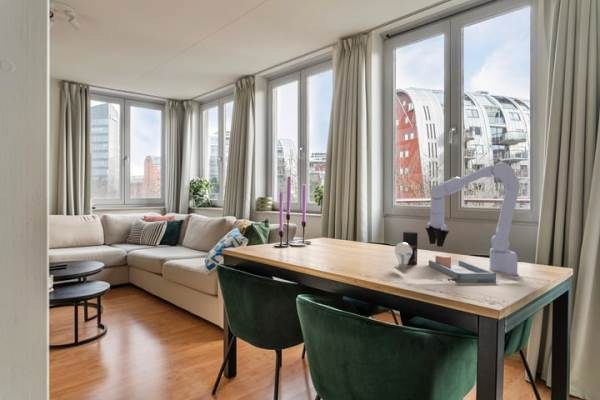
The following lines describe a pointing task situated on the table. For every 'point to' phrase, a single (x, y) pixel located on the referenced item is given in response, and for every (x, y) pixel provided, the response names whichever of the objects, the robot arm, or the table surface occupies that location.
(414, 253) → the dark brown rectangular block
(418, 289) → the table surface
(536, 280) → the table surface
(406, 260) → the light bulb
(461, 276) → the trap box
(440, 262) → the block
